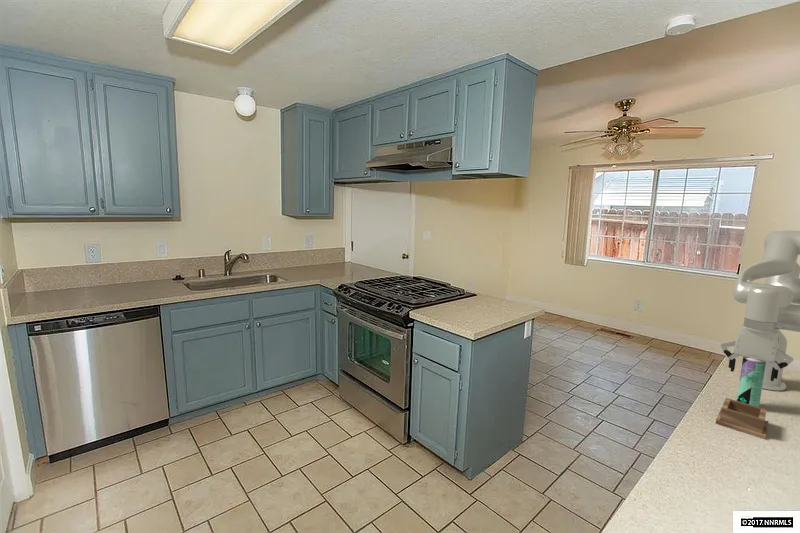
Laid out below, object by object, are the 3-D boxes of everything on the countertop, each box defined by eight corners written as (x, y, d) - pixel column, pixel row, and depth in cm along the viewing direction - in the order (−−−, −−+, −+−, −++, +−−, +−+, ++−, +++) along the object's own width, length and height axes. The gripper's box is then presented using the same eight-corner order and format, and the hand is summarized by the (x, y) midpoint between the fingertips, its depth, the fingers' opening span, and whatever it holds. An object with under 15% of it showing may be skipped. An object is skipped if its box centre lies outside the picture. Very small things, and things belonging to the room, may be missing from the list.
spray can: (749, 401, 127) (757, 346, 124) (763, 410, 122) (772, 352, 119) (732, 401, 128) (740, 345, 125) (745, 409, 122) (753, 351, 119)
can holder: (721, 410, 122) (723, 396, 121) (768, 424, 114) (770, 409, 113) (715, 423, 114) (717, 408, 114) (765, 439, 106) (767, 423, 106)
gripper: (798, 329, 117) (789, 380, 119) (726, 317, 129) (719, 364, 132) (798, 333, 112) (788, 387, 114) (722, 321, 124) (715, 369, 126)
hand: (751, 375), depth 123 cm, fingers open, 9 cm apart
